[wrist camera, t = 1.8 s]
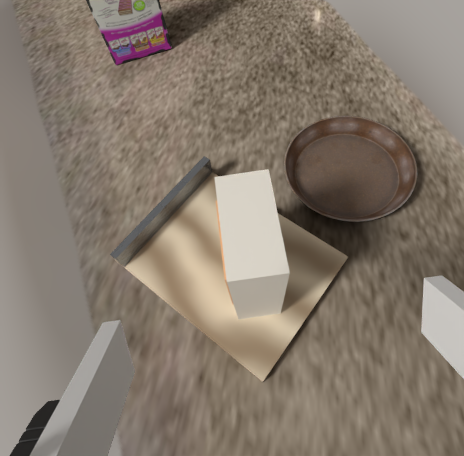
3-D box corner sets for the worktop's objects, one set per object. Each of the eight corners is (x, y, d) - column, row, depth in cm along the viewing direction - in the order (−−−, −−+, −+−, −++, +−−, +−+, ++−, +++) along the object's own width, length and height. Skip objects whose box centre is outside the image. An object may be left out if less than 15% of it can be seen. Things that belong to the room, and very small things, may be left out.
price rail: (206, 168, 51) (203, 155, 48) (212, 172, 50) (209, 159, 47) (118, 262, 45) (109, 253, 42) (124, 267, 45) (115, 259, 42)
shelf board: (203, 171, 52) (202, 165, 51) (345, 261, 44) (348, 256, 43) (118, 262, 47) (114, 258, 45) (262, 382, 39) (262, 381, 38)
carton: (266, 236, 45) (268, 169, 32) (280, 313, 41) (289, 273, 27) (226, 242, 45) (211, 177, 32) (235, 319, 41) (222, 282, 27)
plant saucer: (258, 176, 51) (257, 164, 49) (337, 110, 56) (341, 96, 53) (353, 256, 45) (359, 247, 42) (434, 175, 49) (445, 162, 46)
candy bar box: (166, 33, 67) (139, -69, 52) (172, 49, 65) (146, -53, 50) (110, 49, 66) (67, -50, 52) (114, 66, 64) (71, -32, 49)
